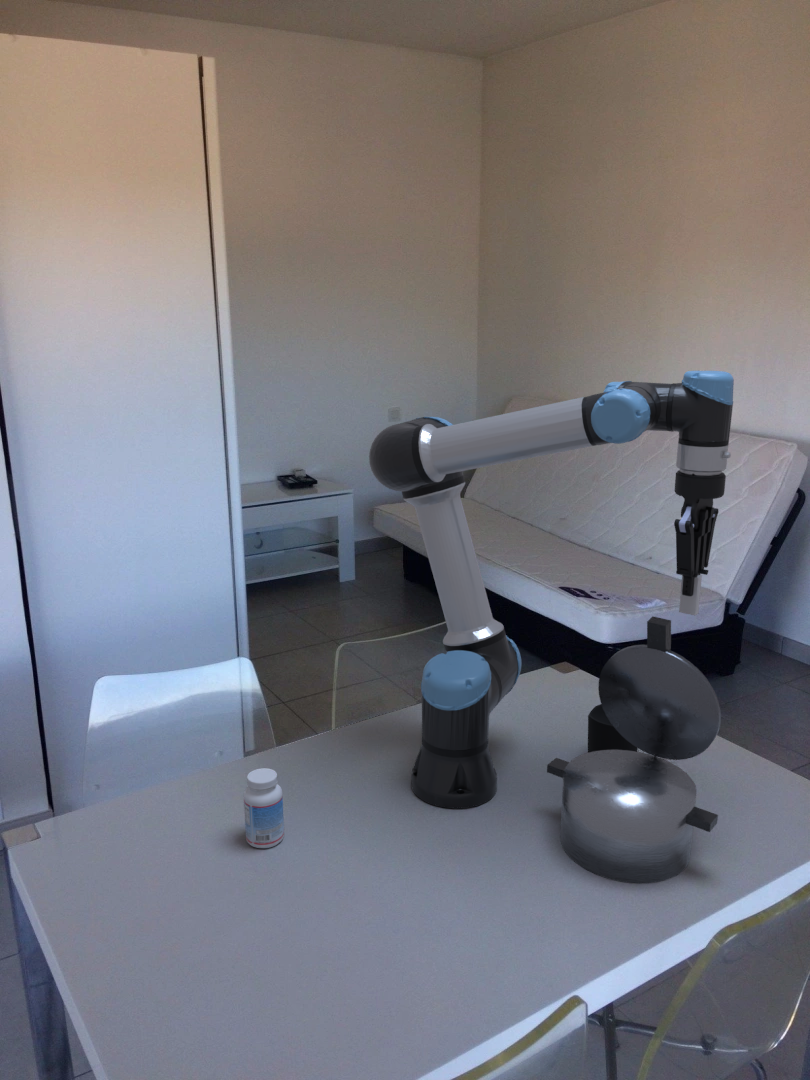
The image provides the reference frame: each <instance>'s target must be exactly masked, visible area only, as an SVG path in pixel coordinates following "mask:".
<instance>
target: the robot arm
mask: <svg viewBox="0 0 810 1080" xmlns="http://www.w3.org/2000/svg"><path fill="white" fill-rule="evenodd" d="M734 381H735V380H734V377H733V375H732V374H731V372H730V373H729V372H727V371H724V370H723V371H721V370H688V371H686V372H685V373H684V374H683V377H682V380H681V382H677V383H673V382H672V383H664V382H662V383H661V382H645V381H644V382H642V381H641V382H639V381H632V380H626V381H611V382H609V383H607V384H606V385H605V389H604V390H603V392H601V393H595V394H591V395H588V396H582V397H578V398H573V399H568V400H564V401H559V402H558V401H557V402H554V403H550V404H544V405H540V406H535V407H531V408H527V409H526V408H525V409H521V410H516V411H511V412H507V413H502V414H498V415H492V416H488V417H483V418H479V419H475V420H470V421H466V422H461V423H456V424H453V423H451V422H449V420H447V419H444V418H442V417H438V416H423V417H417V418H414V419H411V420H408V421H404V422H401V423H396V424H392V425H390V426H388V427H386V428H384V429H383V430H381V431H380V432H379V433H378V434H377V436H376V437H375V438H374V440H373V441H372V443H371V446H370V449H369V453H368V454H369V455H368V458H369V459H368V461H369V467H370V469H371V472H372V474H373V476H374V478H375V479H376V480H377V481H378V482H379V483H380V484H381V485H382V486H383V487H385V488H387V489H389V490H392V491H395V492H401V495H402V498H403V501H405V502H406V503H408V504H410V505H411V506H413V507H414V510H415V515H416V517H417V521H418V522H417V523H418V525H419V529H420V533H421V535H422V540H423V543H424V547H425V550H426V554H427V558H428V562H429V565H430V566H429V567H430V570H431V572H432V575H433V579H434V582H435V583H434V584H435V587H436V590H437V594H438V598H439V601H440V604H441V605H440V606H441V609H442V612H443V615H444V620H445V623H446V627H447V632H446V634H445V635H444V637H443V639H442V643H443V647H444V650H445V653H442V652H441V653H438V654H437V655H435V656H433V657H431V658H429V660H428V661H427V663H426V664H425V666H424V668H423V670H422V678H421V683H420V690H421V746H420V749H419V751H418V754H417V757H416V759H415V761H414V765H413V768H412V770H411V789H412V792H413V793H414V794H415V795H416V796H417V798H419V799H420V800H422V801H423V802H426V803H427V804H430V805H432V806H437V807H440V808H446V809H467V808H474V807H477V806H480V805H482V804H485V803H487V802H488V801H490V800H491V799H492V798H493V797H494V796H495V794H496V793H497V790H498V773H497V771H496V769H495V766H494V762H493V758H492V756H491V752H490V749H489V735H490V734H489V733H490V731H489V723H490V716H491V713H492V711H493V710H494V709H495V708H496V707H497V706H498V705H499V704H500V702H501V701H502V700H504V699H503V698H504V697H506V696H507V695H508V694H509V693H510V692H511V691H512V690H513V688H514V686H515V685H516V684H517V681H518V679H519V677H520V674H521V671H522V657H521V652H520V650H519V648H518V646H517V644H516V643H515V641H514V640H513V639H512V638H509V636H508V635H506V634H507V633H506V630H505V627H504V626H505V625H503V623H502V622H500V621H498V620H496V619H495V618H494V617H493V613H492V609H491V607H490V606H491V605H490V602H489V599H488V594H487V591H486V588H485V583H484V579H483V577H482V572H481V569H480V566H479V562H478V558H477V554H476V550H475V547H474V543H473V540H472V539H473V538H472V535H471V531H470V529H469V524H468V520H467V517H466V514H465V513H466V512H465V508H464V506H463V501H462V498H461V493H462V490H463V489H464V487H465V485H466V480H465V476H464V471H470V470H475V469H479V468H486V467H490V466H495V465H501V464H506V463H511V462H516V461H521V460H527V459H532V458H539V457H542V456H548V455H554V454H557V453H565V452H569V451H574V450H579V449H584V448H589V447H594V446H602V445H608V444H617V445H618V444H624V443H629V442H633V441H635V440H636V439H638V438H639V437H640V436H641V435H642V434H643V433H644V432H646V431H653V432H656V431H658V432H659V431H660V432H671V433H672V432H677V433H678V441H677V452H676V459H675V460H676V461H675V462H676V464H675V466H676V468H677V469H678V470H677V471H676V472H675V480H674V493H675V495H677V496H679V497H682V498H683V499H684V501H683V503H682V507H681V510H680V518H681V519H679V518H675V520H674V522H673V523H674V531H675V537H676V538H675V544H676V547H675V550H676V551H675V552H676V553H675V554H676V557H675V558H676V575H680V576H681V584H680V585H681V586H680V596H679V597H680V598H679V606H678V613H681V614H686V615H691V616H697V615H698V614H699V612H700V601H701V592H702V591H701V589H702V578H703V575H708V573H709V570H708V569H705V568H708V566H709V560H710V555H711V549H712V543H713V539H714V532H715V527H716V521H717V519H718V514H719V508H717V507H716V508H715V507H714V500H717V499H719V498H722V497H723V496H724V495H725V490H726V489H725V488H726V479H727V475H726V474H725V472H723V471H725V470H726V469H727V464H728V459H730V458H731V457H732V454H731V452H729V442H730V435H731V434H730V433H731V424H732V415H733V408H734V407H733V406H734V384H735V383H734Z"/></svg>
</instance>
